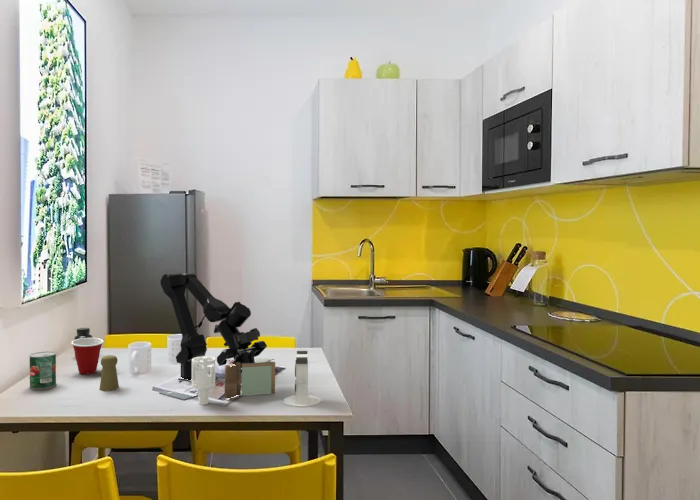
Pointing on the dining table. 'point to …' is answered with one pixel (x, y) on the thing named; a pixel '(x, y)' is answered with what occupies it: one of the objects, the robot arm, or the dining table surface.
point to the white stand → (301, 384)
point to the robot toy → (262, 360)
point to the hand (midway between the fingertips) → (255, 373)
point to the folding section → (258, 378)
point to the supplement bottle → (83, 334)
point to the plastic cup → (87, 354)
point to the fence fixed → (232, 380)
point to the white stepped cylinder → (203, 377)
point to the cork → (109, 373)
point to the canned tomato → (42, 370)
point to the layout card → (176, 395)
